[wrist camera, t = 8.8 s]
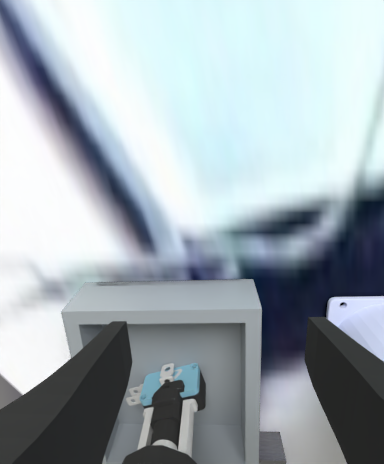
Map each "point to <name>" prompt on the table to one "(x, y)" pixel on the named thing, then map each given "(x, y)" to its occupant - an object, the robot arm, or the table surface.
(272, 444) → the collar
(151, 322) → the bin
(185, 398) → the push button
